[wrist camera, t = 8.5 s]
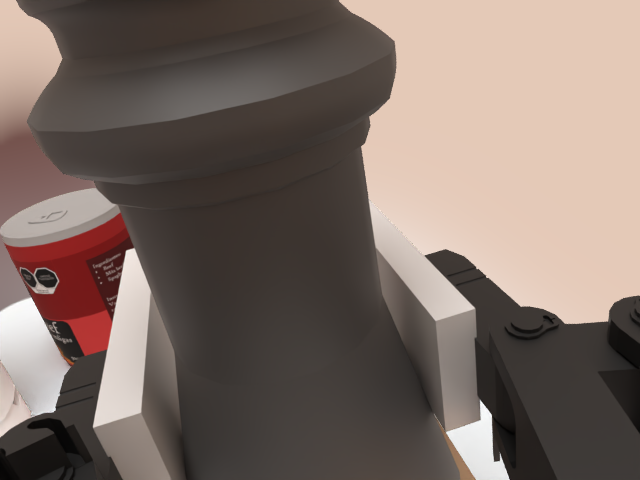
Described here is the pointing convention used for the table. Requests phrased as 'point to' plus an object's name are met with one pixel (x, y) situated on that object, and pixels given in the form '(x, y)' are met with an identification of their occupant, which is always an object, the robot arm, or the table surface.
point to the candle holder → (249, 223)
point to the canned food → (71, 266)
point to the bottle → (10, 403)
